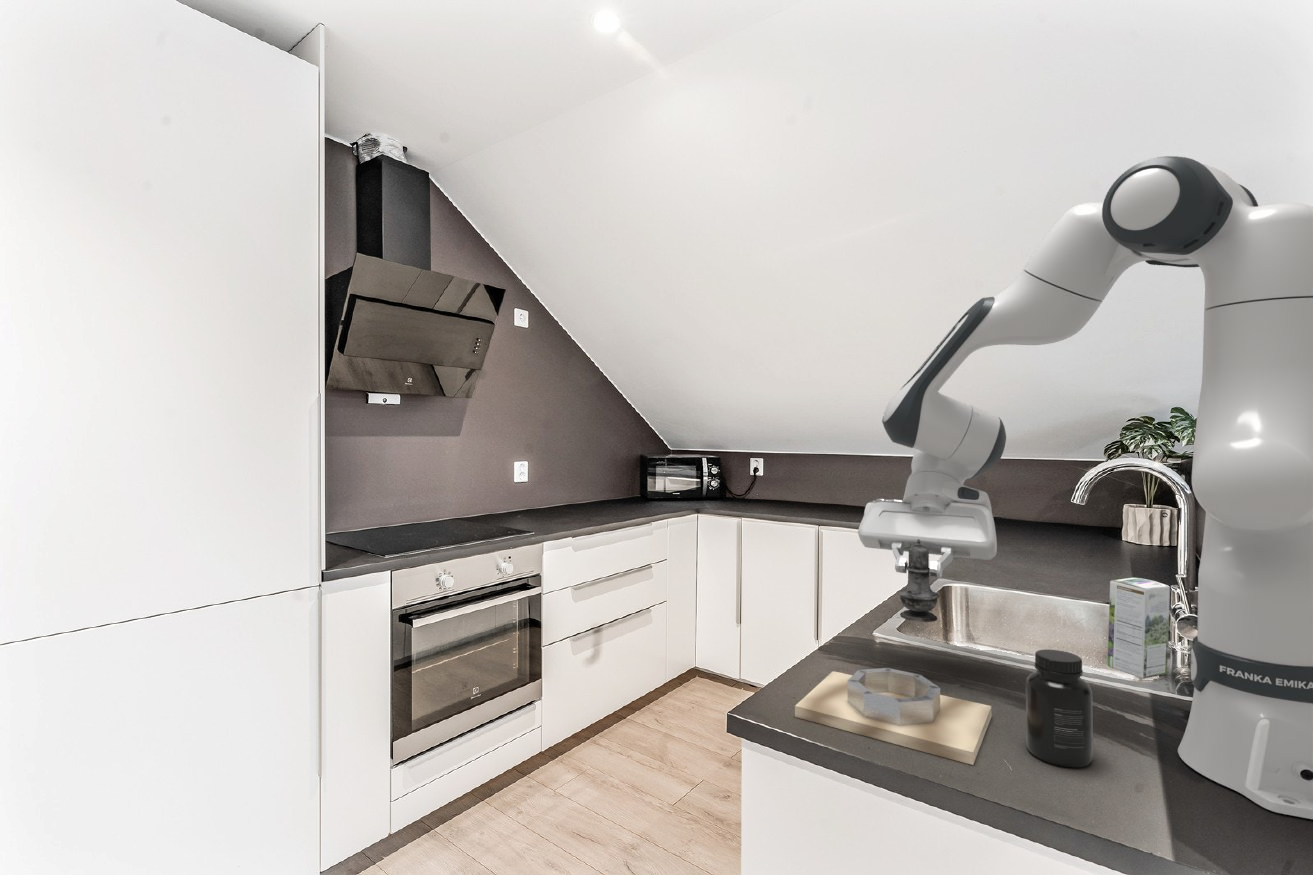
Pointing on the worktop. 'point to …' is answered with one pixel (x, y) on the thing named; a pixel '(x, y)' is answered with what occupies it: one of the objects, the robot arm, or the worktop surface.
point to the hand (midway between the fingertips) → (917, 572)
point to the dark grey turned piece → (918, 587)
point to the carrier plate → (946, 737)
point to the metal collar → (890, 709)
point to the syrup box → (1138, 627)
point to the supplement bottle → (1059, 710)
